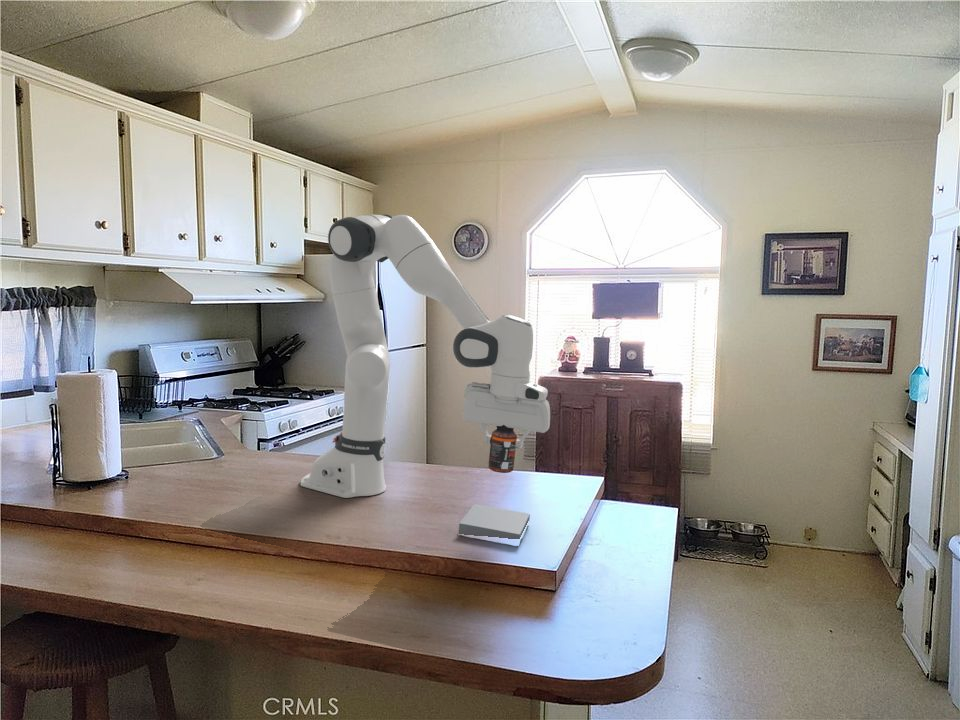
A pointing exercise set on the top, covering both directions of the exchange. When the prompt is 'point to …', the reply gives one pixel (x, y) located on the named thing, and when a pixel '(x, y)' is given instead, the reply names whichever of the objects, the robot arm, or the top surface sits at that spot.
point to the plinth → (493, 522)
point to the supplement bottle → (502, 449)
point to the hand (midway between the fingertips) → (503, 445)
